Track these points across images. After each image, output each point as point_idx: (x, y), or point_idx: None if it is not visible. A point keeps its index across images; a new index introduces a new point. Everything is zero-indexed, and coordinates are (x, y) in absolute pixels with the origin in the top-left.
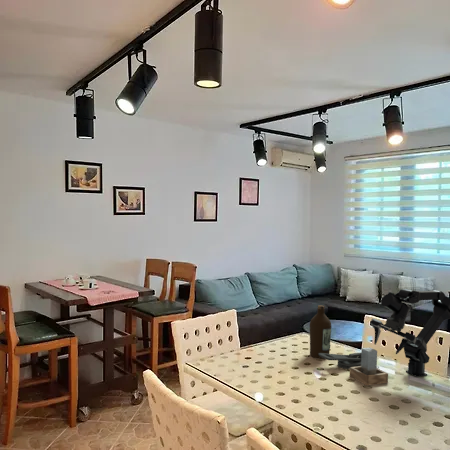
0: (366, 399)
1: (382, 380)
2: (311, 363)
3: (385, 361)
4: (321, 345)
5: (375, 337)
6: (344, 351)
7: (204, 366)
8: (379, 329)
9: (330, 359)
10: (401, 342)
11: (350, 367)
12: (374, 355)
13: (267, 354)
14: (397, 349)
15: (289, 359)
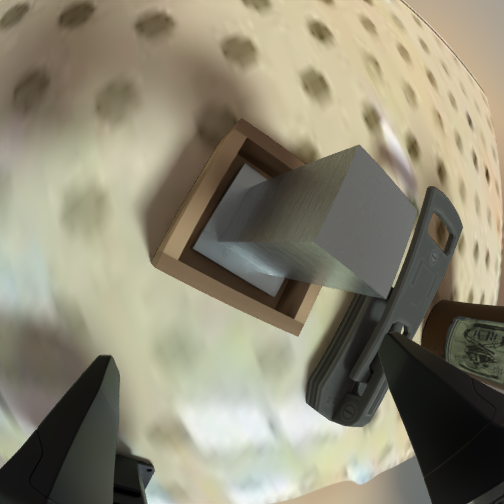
0: (178, 11)
1: (172, 225)
2: (436, 243)
3: (269, 489)
4: (471, 315)
5: (451, 370)
6: (394, 434)
7: (478, 92)
8: (501, 475)
9: (427, 194)
10: (37, 502)
11: None
12: (300, 213)
13: (485, 225)
14: (88, 395)
15: (464, 229)
